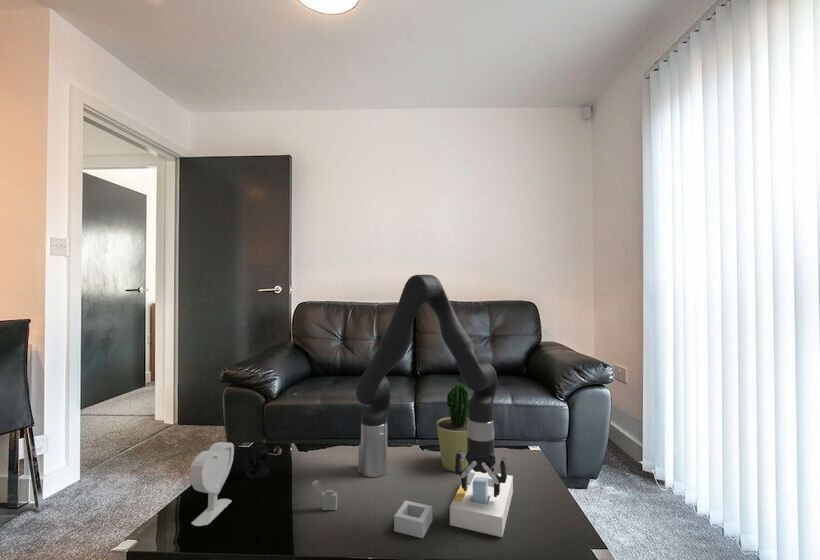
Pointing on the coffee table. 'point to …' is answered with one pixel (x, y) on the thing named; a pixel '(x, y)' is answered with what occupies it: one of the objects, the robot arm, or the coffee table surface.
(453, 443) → the potted cactus
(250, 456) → the webcam
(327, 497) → the lighter
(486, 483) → the plug
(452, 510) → the port panel
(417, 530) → the holster
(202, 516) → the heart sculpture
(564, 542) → the coffee table surface
